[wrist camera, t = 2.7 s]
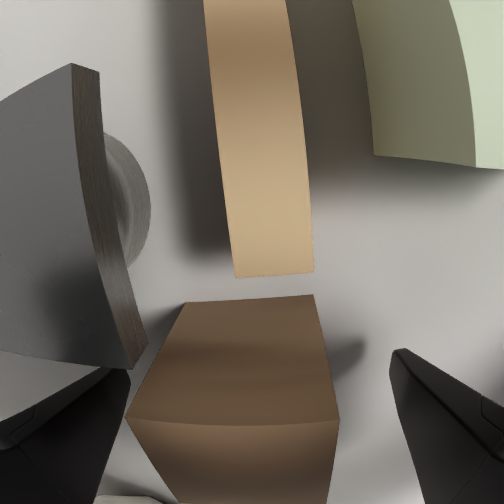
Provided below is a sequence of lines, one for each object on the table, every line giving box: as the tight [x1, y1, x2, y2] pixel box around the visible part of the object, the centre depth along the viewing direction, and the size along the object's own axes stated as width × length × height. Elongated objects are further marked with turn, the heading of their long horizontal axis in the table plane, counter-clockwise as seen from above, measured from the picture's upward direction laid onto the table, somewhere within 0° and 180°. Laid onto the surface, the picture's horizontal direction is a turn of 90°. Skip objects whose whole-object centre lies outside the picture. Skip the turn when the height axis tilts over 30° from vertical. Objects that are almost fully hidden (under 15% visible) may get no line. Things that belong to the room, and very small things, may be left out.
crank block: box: [125, 294, 340, 504], centre depth 8 cm, size 4×4×5 cm
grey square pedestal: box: [0, 63, 151, 370], centre depth 7 cm, size 6×6×4 cm
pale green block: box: [351, 0, 504, 169], centre depth 4 cm, size 6×6×5 cm
